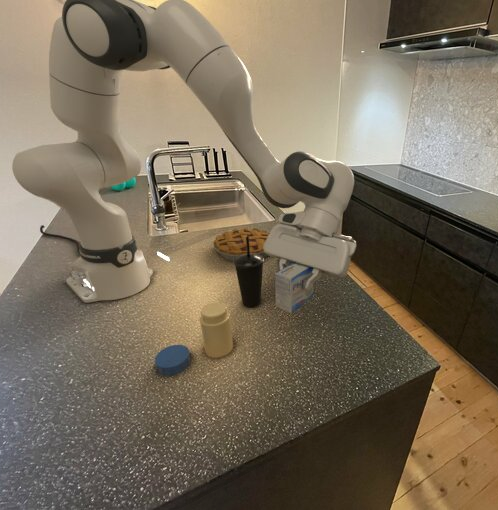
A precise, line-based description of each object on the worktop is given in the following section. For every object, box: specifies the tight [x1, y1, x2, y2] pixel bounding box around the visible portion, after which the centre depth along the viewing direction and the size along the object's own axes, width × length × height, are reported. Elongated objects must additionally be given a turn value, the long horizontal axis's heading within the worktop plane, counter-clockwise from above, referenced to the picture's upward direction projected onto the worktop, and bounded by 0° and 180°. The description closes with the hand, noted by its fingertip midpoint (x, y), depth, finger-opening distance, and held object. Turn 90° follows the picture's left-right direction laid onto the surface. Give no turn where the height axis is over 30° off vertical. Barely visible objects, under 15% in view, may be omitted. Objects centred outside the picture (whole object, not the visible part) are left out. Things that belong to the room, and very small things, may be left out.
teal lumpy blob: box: [109, 177, 137, 192], centre depth 161 cm, size 10×10×10 cm
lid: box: [154, 344, 192, 376], centre depth 64 cm, size 6×6×2 cm
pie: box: [212, 227, 270, 262], centre depth 111 cm, size 22×22×5 cm
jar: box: [199, 301, 234, 359], centre depth 67 cm, size 6×6×11 cm
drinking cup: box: [232, 237, 265, 309], centre depth 80 cm, size 8×8×20 cm
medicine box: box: [274, 262, 314, 314], centre depth 66 cm, size 8×4×9 cm, turn 148°
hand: (293, 284), depth 66 cm, fingers closed on medicine box, 4 cm apart
